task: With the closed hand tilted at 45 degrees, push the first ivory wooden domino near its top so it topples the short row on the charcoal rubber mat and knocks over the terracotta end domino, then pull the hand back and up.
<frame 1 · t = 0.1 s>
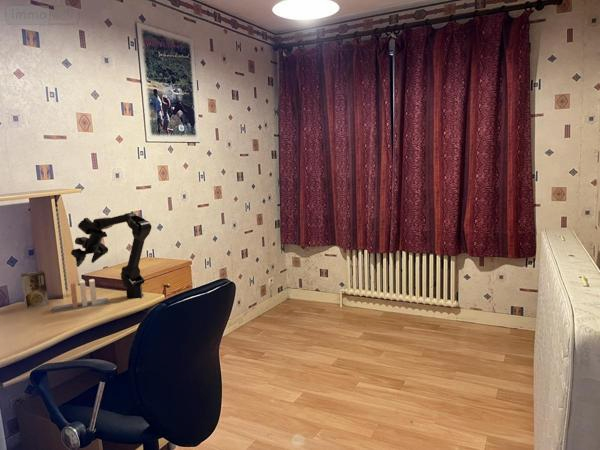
hand: (84, 264, 228), 15 cm above the table, tool tilted 35°, fingers open, 9 cm apart
domino 1: (94, 303, 209), point 1 cm above the table, touching mat
domino 3: (75, 306, 205), point 1 cm above the table, touching mat
domino 2: (84, 304, 207), point 1 cm above the table, touching mat
coffee box: (36, 306, 209), on the table
mat: (81, 306, 207), on the table
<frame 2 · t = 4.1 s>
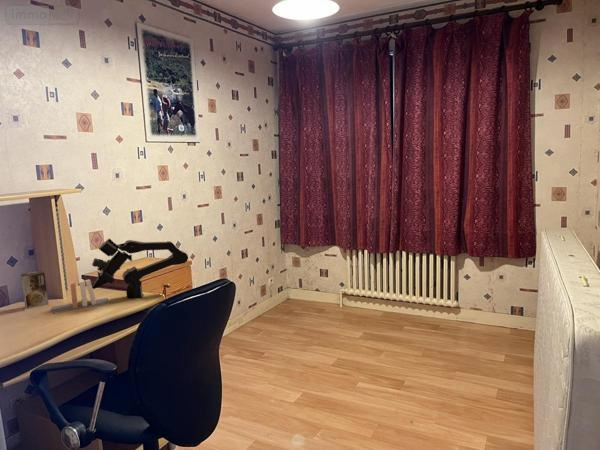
hand: (92, 288, 208), 8 cm above the table, tool tilted 45°, fingers closed
domino 1: (94, 302, 209), point 1 cm above the table, tilted 9°, touching mat
everything else where it was.
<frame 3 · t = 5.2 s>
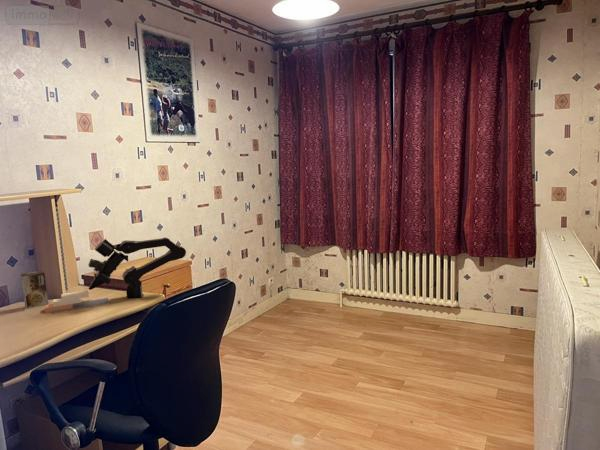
hand: (89, 289, 208), 8 cm above the table, tool tilted 45°, fingers closed
domino 1: (88, 293, 208), point 6 cm above the table, tilted 90°, touching domino 2
domino 3: (72, 304, 205), point 2 cm above the table, tilted 90°, touching domino 2, mat
domino 2: (80, 299, 206), point 4 cm above the table, tilted 90°, touching domino 1, domino 3
everything else where it was.
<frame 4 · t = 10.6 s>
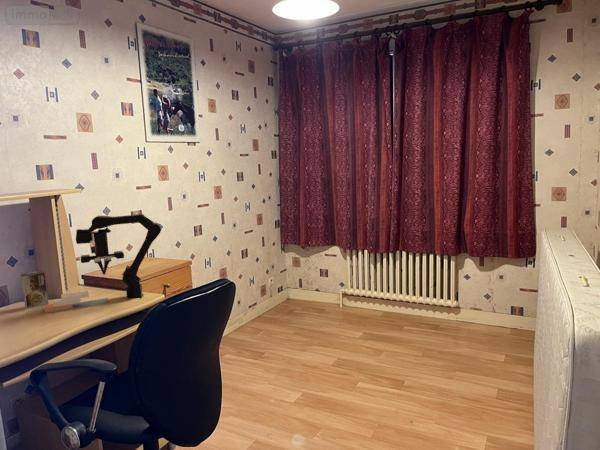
hand: (104, 274, 213), 13 cm above the table, tool pointing down, fingers closed
nothing on the table moved.
at the end: domino 3 tilted 90°; domino 2 tilted 90°; coffee box moved 0.2 cm from its start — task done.
